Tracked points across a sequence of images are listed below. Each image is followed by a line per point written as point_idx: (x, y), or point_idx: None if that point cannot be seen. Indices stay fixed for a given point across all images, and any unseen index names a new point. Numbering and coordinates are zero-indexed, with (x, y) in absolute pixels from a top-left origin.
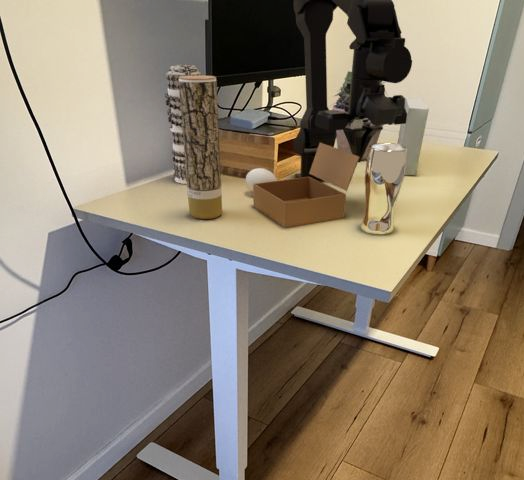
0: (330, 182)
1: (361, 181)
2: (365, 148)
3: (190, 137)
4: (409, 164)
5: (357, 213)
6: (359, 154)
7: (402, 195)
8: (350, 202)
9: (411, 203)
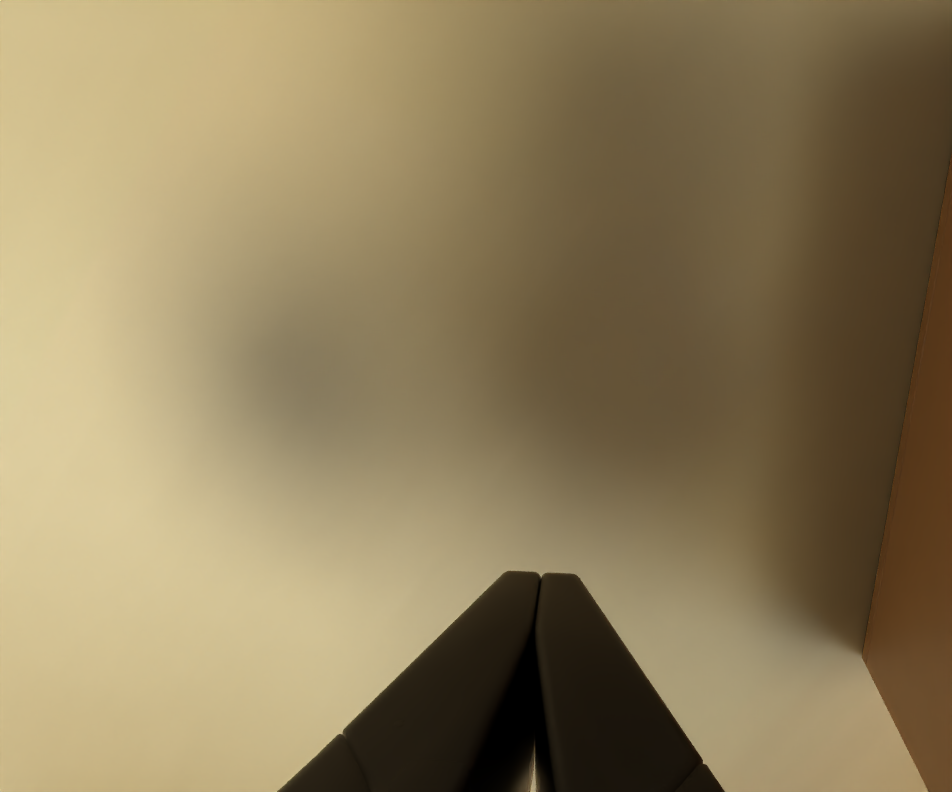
0: None
1: (171, 787)
2: (401, 705)
3: None
4: None
5: (729, 63)
6: (560, 643)
7: (11, 360)
8: (571, 399)
9: (32, 117)
